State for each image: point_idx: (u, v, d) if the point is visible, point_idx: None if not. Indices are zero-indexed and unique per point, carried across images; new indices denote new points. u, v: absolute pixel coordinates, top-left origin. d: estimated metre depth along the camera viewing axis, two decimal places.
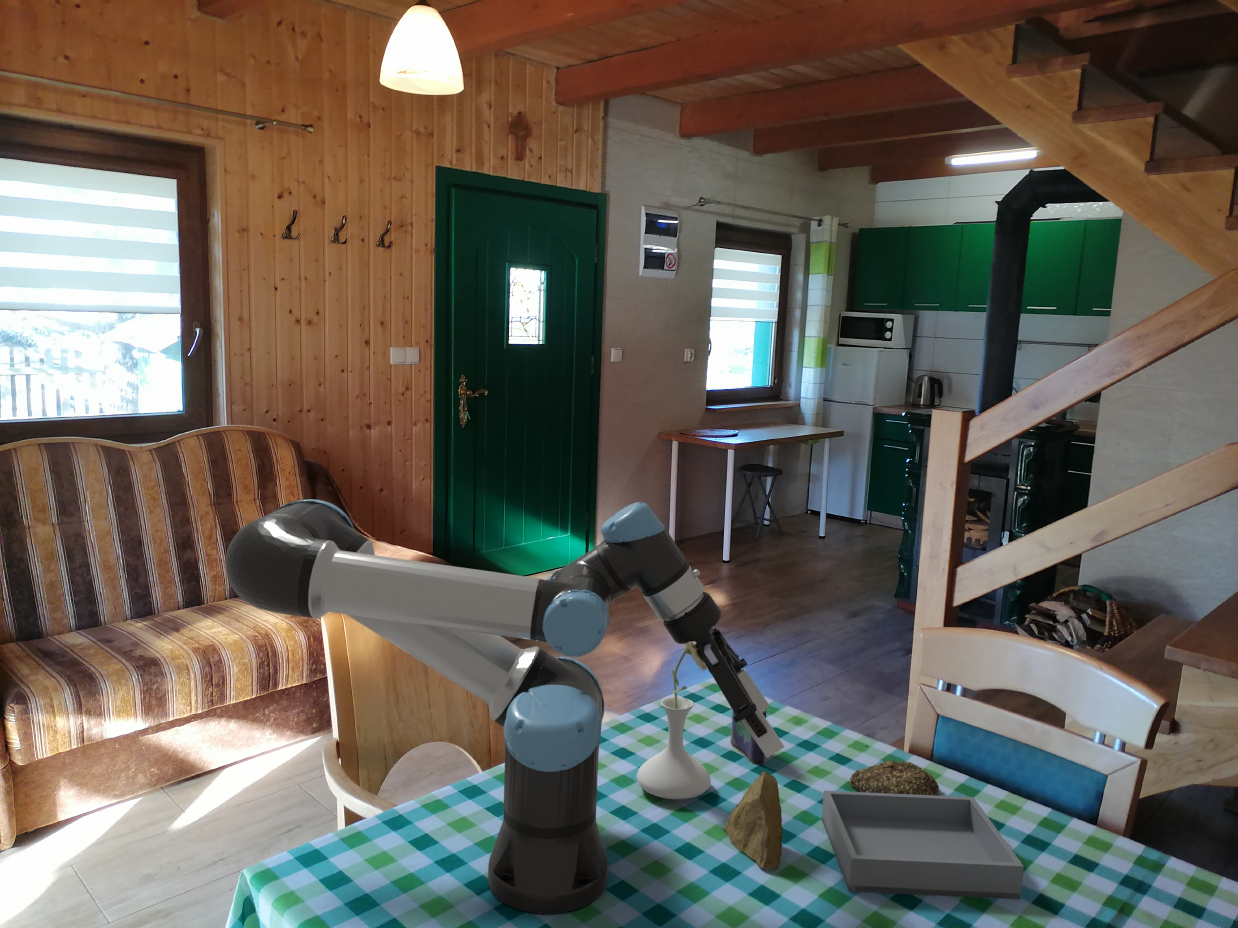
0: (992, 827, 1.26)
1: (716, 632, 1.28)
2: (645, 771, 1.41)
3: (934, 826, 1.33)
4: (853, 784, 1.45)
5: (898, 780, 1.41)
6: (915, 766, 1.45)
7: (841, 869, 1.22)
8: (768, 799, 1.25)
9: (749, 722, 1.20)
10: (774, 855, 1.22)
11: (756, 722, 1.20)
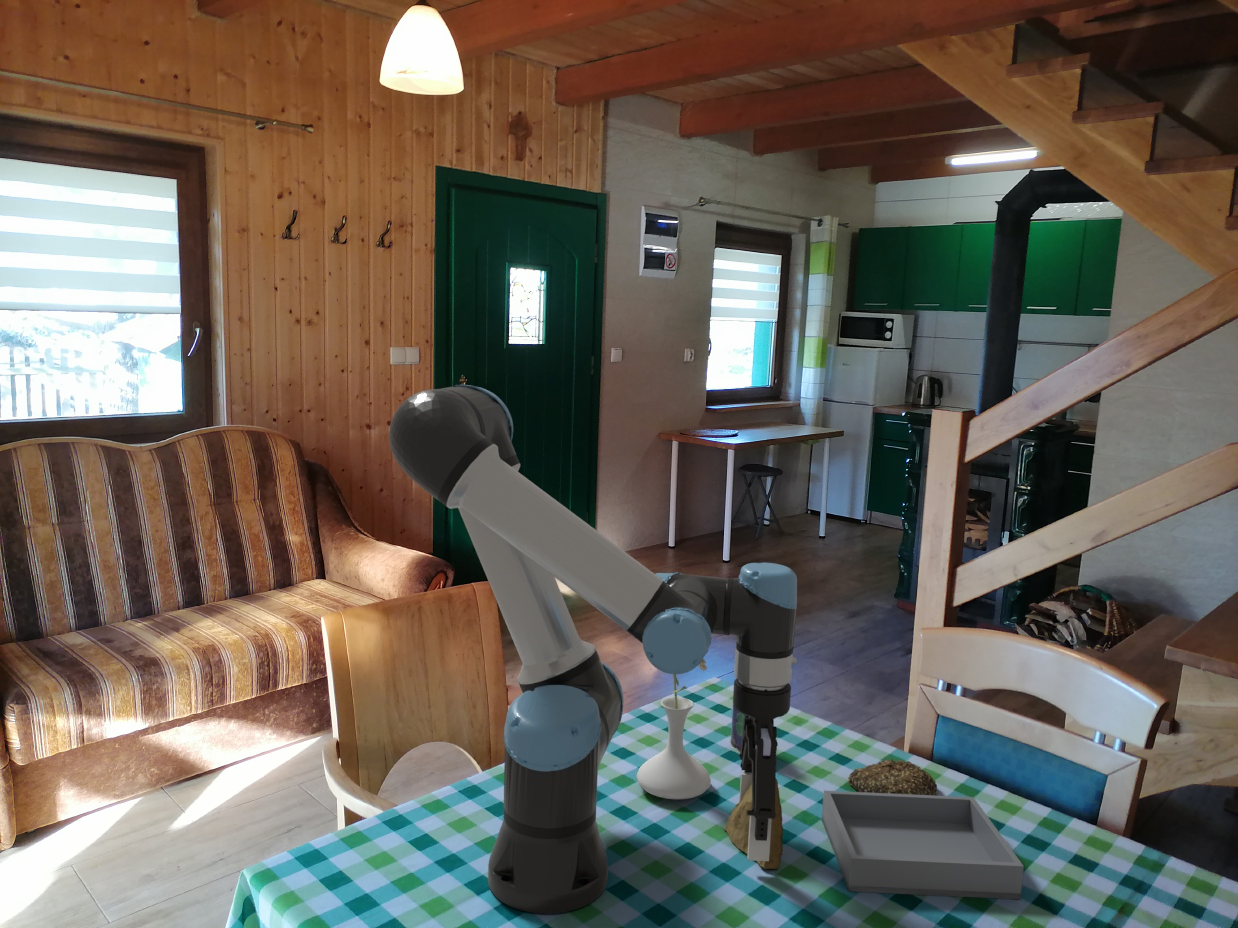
0: (992, 827, 1.26)
1: None
2: (645, 771, 1.41)
3: (934, 826, 1.33)
4: (851, 783, 1.45)
5: (896, 779, 1.41)
6: (913, 765, 1.45)
7: (841, 869, 1.22)
8: None
9: (758, 822, 1.19)
10: (775, 854, 1.22)
11: (764, 826, 1.19)
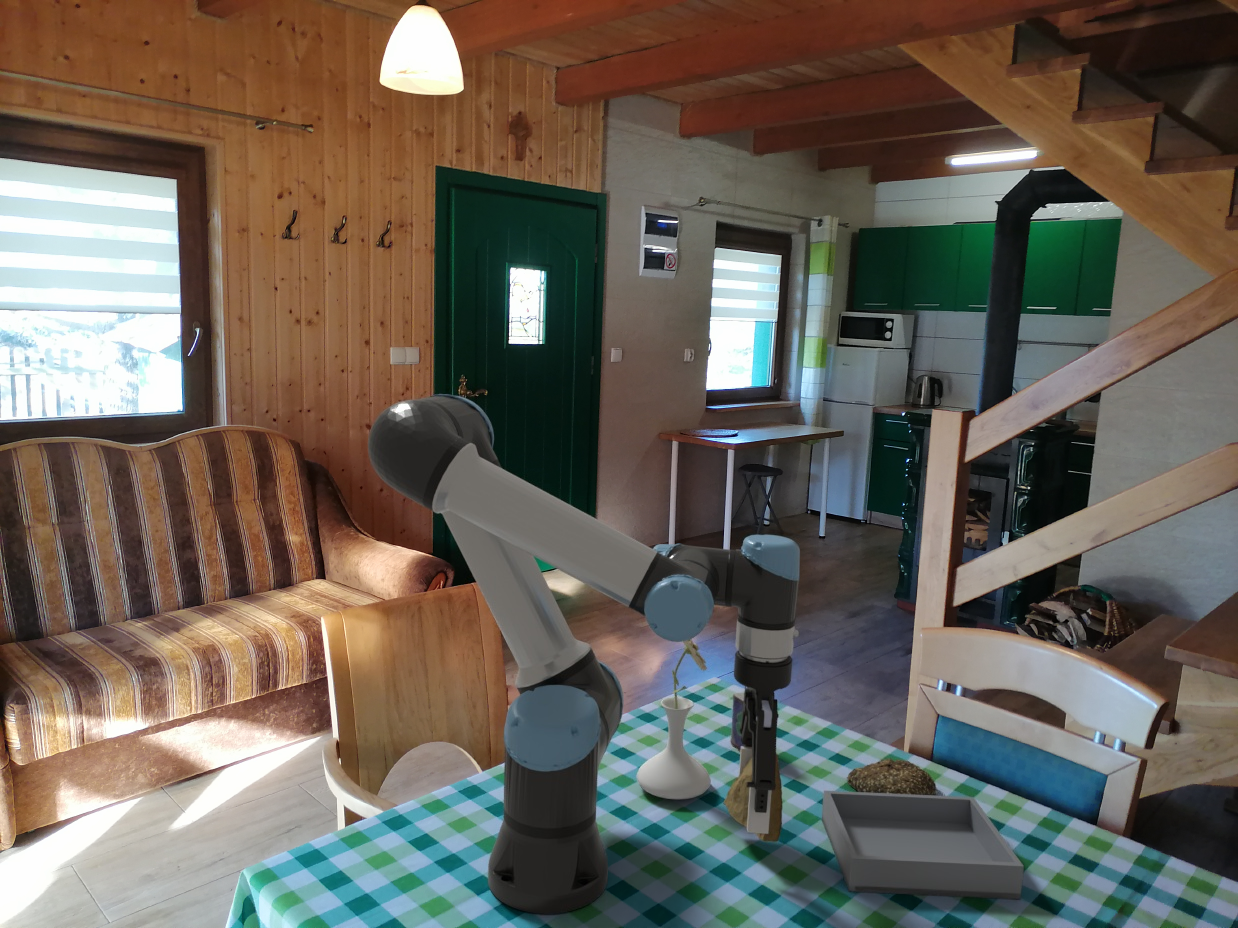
0: (992, 827, 1.26)
1: None
2: (645, 771, 1.41)
3: (934, 826, 1.33)
4: (850, 783, 1.46)
5: (895, 778, 1.41)
6: (912, 764, 1.45)
7: (841, 869, 1.22)
8: None
9: (758, 794, 1.18)
10: (774, 827, 1.22)
11: (764, 798, 1.19)
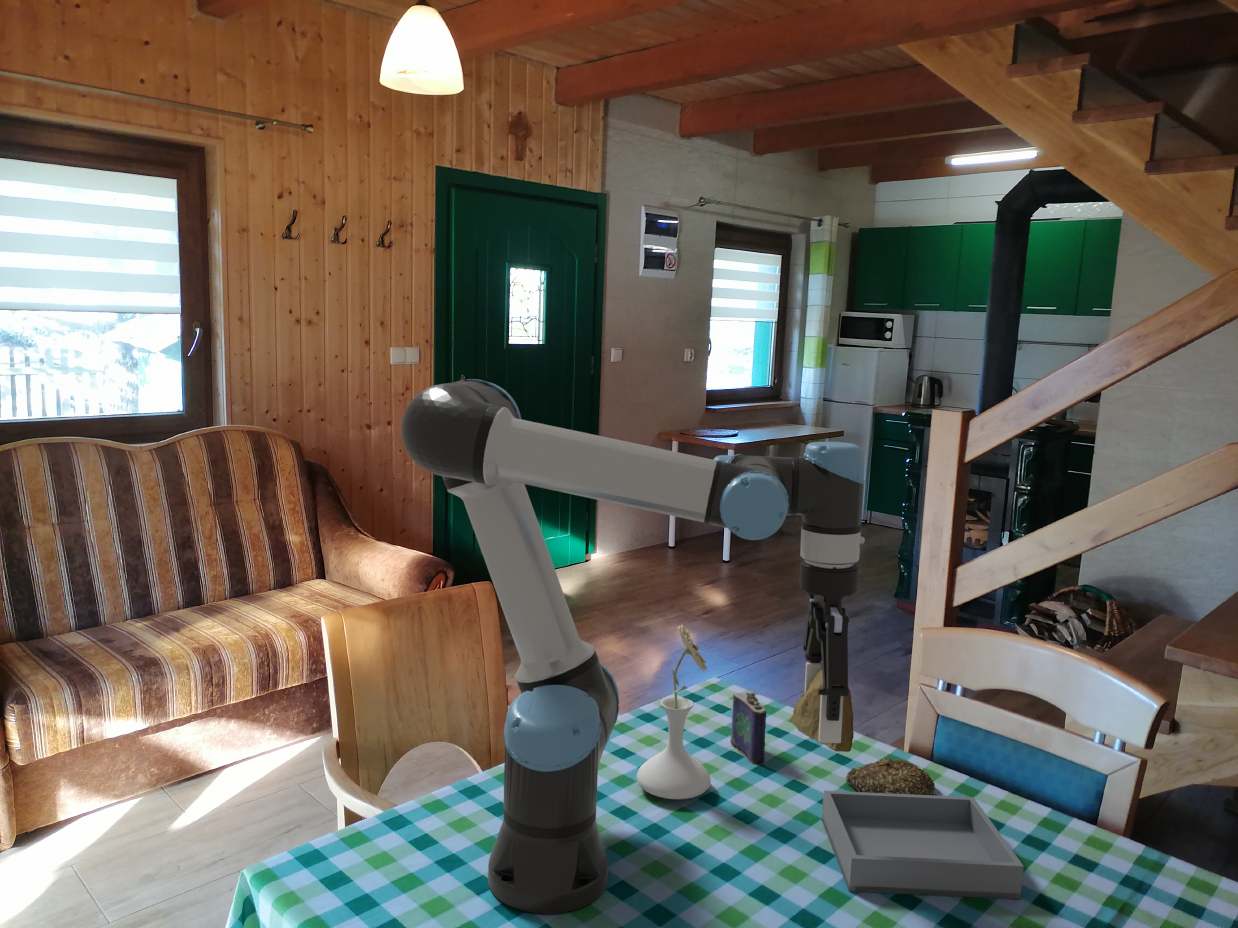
0: (992, 827, 1.26)
1: None
2: (645, 771, 1.41)
3: (934, 826, 1.33)
4: (849, 782, 1.46)
5: (894, 778, 1.42)
6: (911, 764, 1.46)
7: (841, 869, 1.22)
8: None
9: (830, 702, 1.16)
10: (846, 737, 1.20)
11: (836, 706, 1.17)
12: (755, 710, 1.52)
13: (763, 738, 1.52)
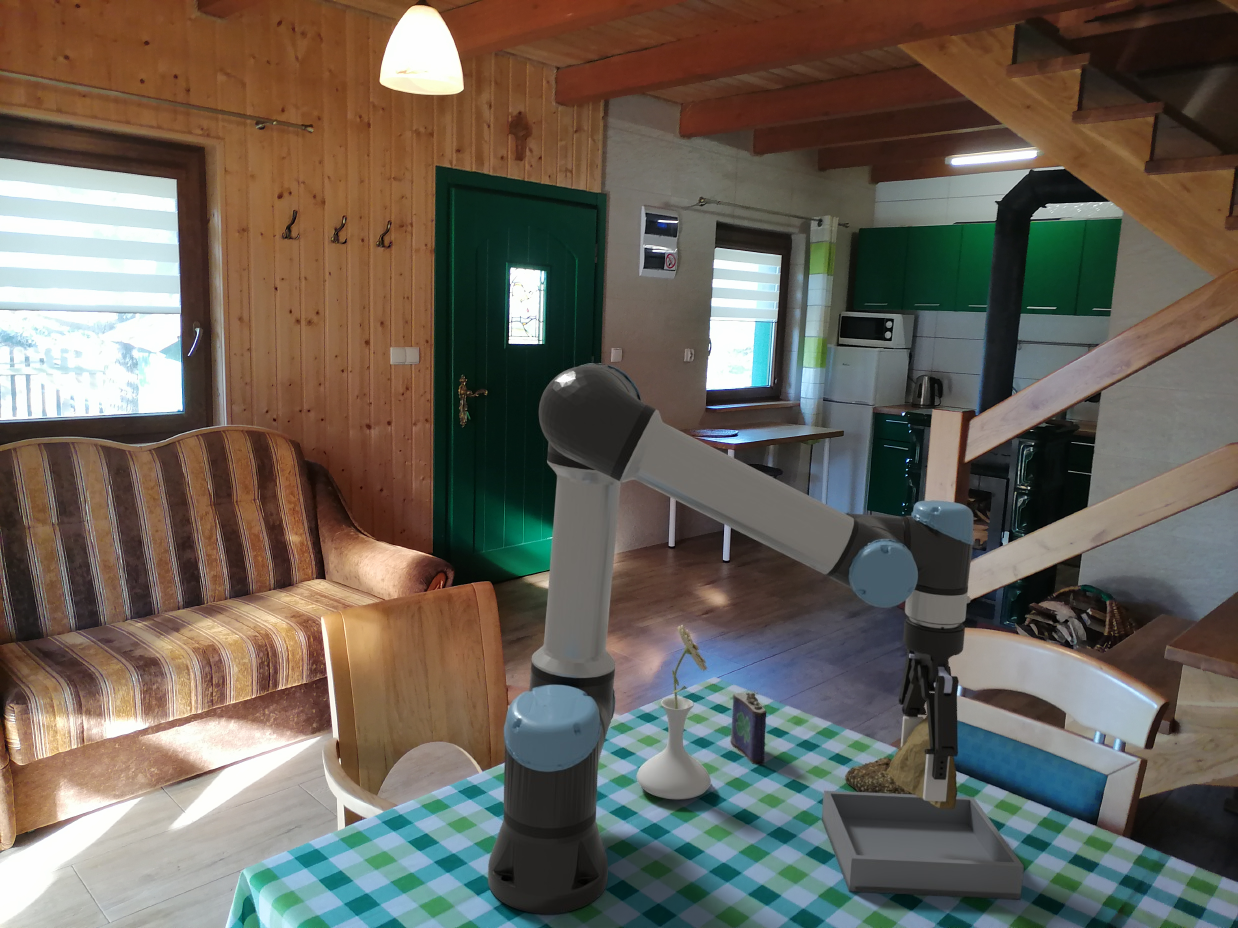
0: (992, 827, 1.26)
1: None
2: (645, 771, 1.41)
3: (934, 826, 1.33)
4: (848, 781, 1.46)
5: None
6: None
7: (841, 869, 1.22)
8: None
9: (938, 761, 1.17)
10: (950, 795, 1.20)
11: (943, 765, 1.17)
12: (755, 710, 1.52)
13: (763, 738, 1.52)
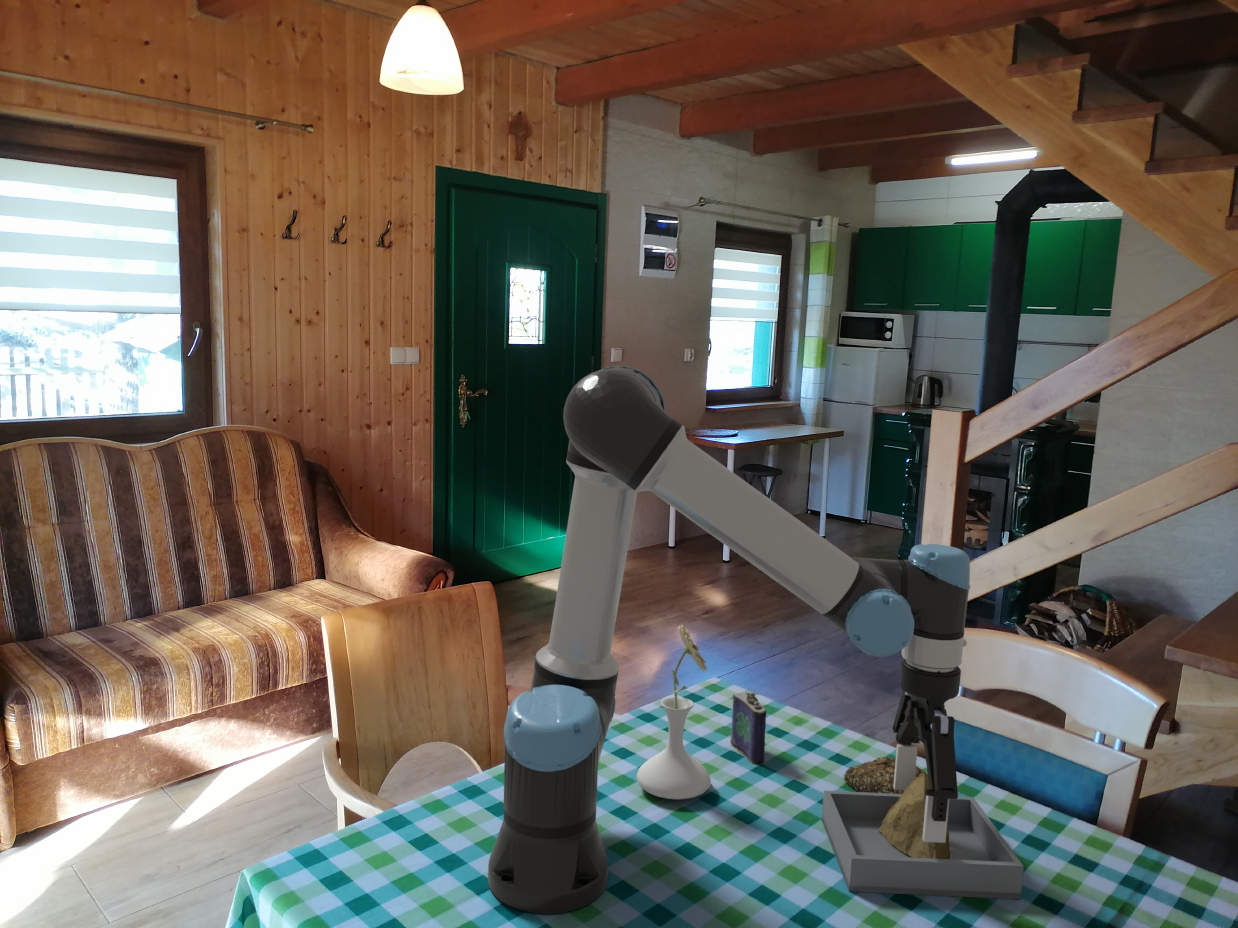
0: (992, 827, 1.26)
1: None
2: (645, 771, 1.41)
3: None
4: (847, 780, 1.46)
5: (892, 776, 1.42)
6: None
7: (841, 869, 1.22)
8: None
9: (937, 803, 1.17)
10: (943, 856, 1.22)
11: (943, 807, 1.17)
12: (755, 710, 1.52)
13: (763, 738, 1.52)
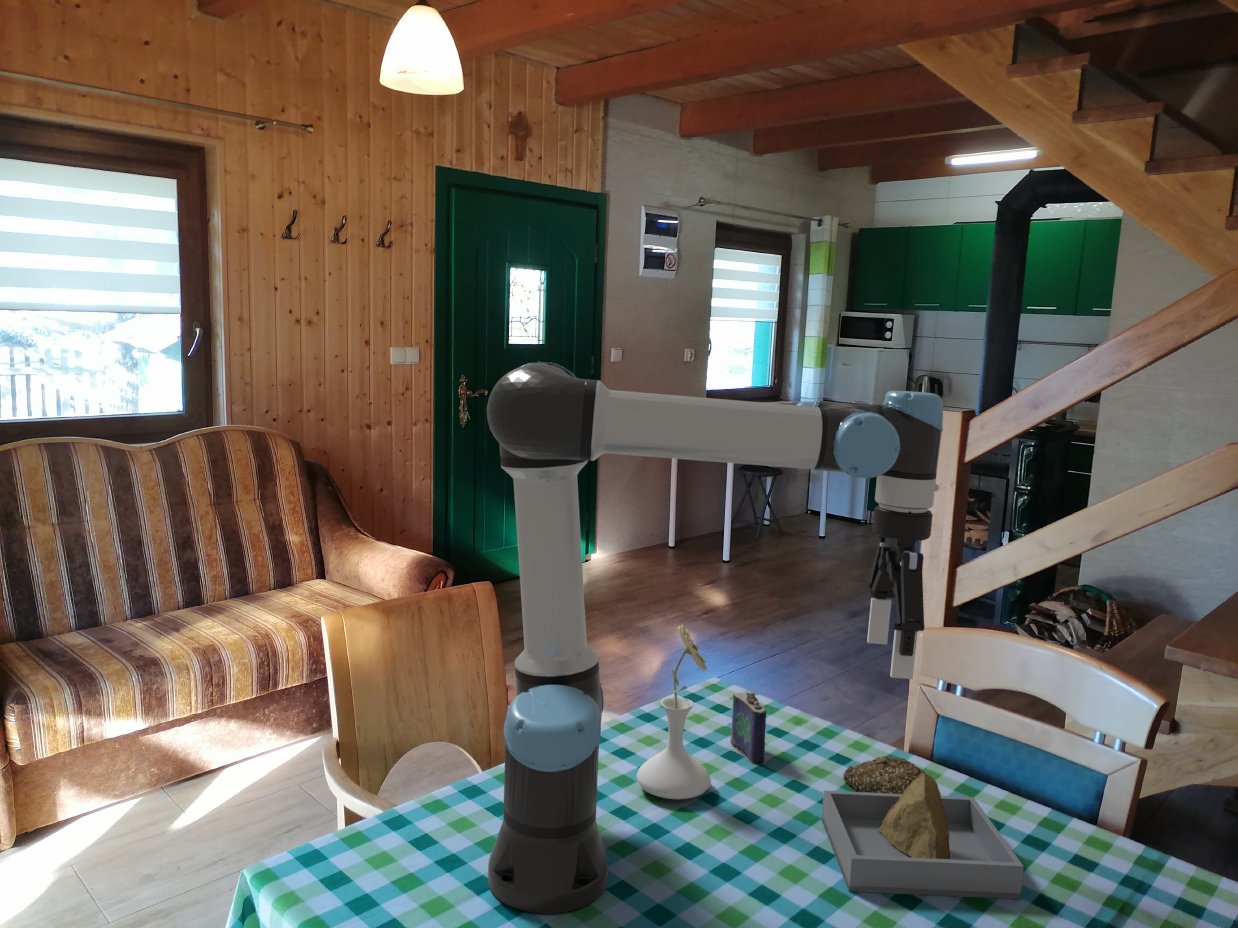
0: (992, 827, 1.26)
1: None
2: (645, 771, 1.41)
3: None
4: (846, 780, 1.47)
5: (891, 776, 1.42)
6: (908, 762, 1.46)
7: (841, 869, 1.22)
8: (932, 800, 1.25)
9: (905, 637, 1.18)
10: (943, 856, 1.22)
11: (910, 641, 1.19)
12: (755, 710, 1.52)
13: (763, 738, 1.52)
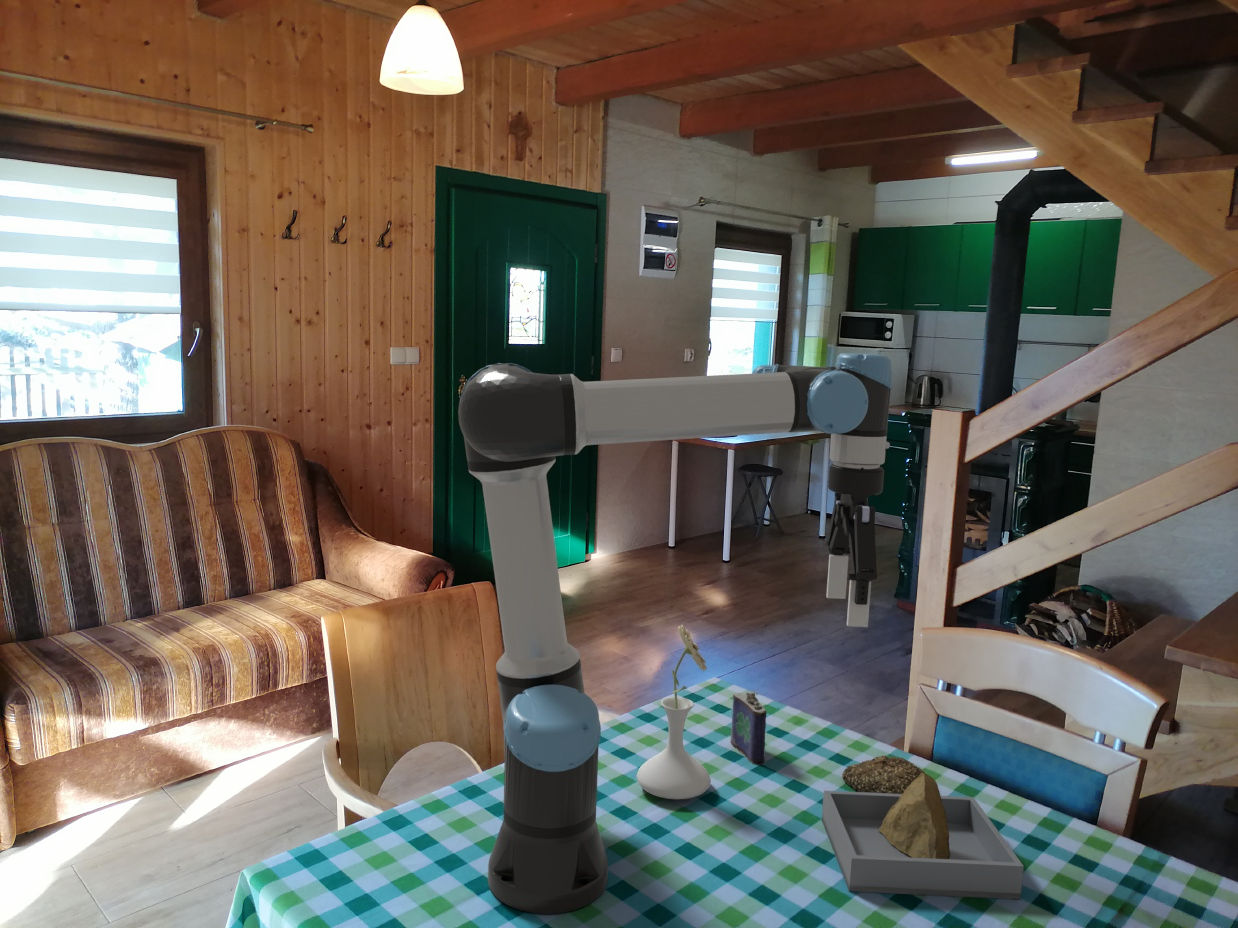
0: (992, 827, 1.26)
1: None
2: (645, 771, 1.41)
3: None
4: (845, 779, 1.47)
5: (890, 775, 1.42)
6: (907, 761, 1.46)
7: (841, 869, 1.22)
8: (932, 800, 1.25)
9: (859, 586, 1.24)
10: (943, 856, 1.22)
11: (864, 590, 1.24)
12: (755, 710, 1.52)
13: (763, 738, 1.52)
